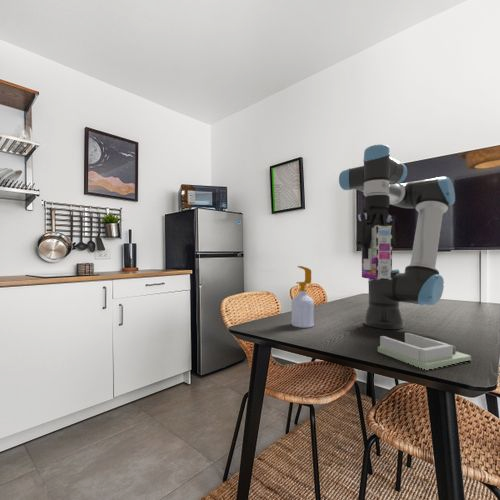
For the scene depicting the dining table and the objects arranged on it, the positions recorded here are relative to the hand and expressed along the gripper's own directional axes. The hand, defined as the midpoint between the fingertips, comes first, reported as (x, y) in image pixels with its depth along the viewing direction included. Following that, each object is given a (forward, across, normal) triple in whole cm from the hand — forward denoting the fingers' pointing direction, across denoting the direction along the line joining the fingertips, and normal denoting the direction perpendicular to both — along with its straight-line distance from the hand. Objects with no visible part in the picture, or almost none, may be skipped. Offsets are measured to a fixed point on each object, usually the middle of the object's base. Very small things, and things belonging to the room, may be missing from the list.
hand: (376, 269), depth 95 cm
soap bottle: (+25, -6, +35) cm, 43 cm away
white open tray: (+25, +8, -10) cm, 28 cm away
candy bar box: (+3, 0, 0) cm, 3 cm away
